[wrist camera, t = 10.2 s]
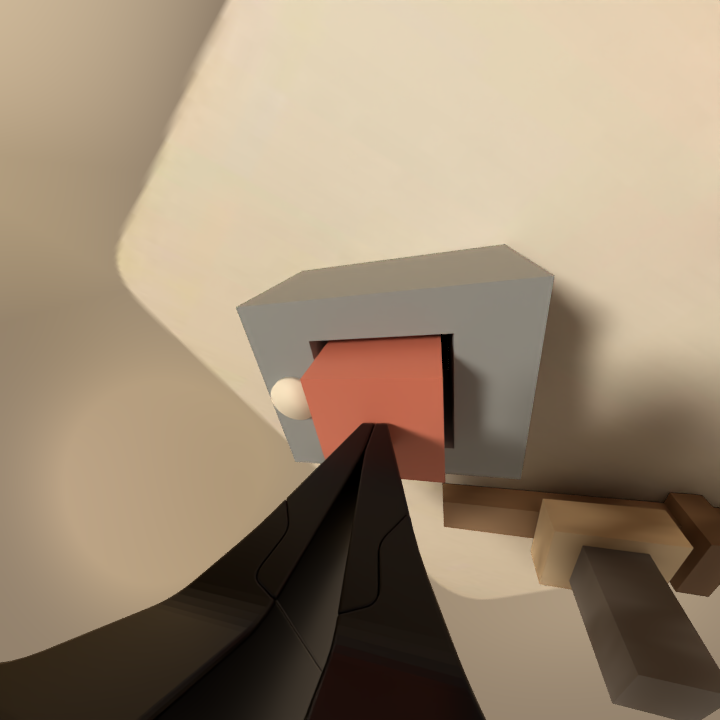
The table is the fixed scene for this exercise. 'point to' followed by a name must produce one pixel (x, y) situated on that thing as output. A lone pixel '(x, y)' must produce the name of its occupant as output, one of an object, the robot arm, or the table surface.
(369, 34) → the table surface
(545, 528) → the block stack
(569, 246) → the table surface
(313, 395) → the plunger
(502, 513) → the rail
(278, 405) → the grey slotted box
